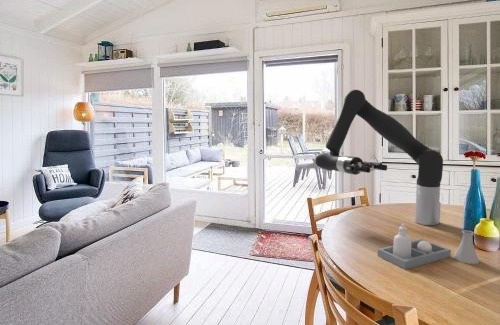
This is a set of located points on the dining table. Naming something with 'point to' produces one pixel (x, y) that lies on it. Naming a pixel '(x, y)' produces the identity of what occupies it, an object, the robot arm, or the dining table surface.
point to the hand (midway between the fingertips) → (378, 168)
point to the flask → (466, 249)
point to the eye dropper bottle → (402, 244)
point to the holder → (415, 255)
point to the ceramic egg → (424, 247)
